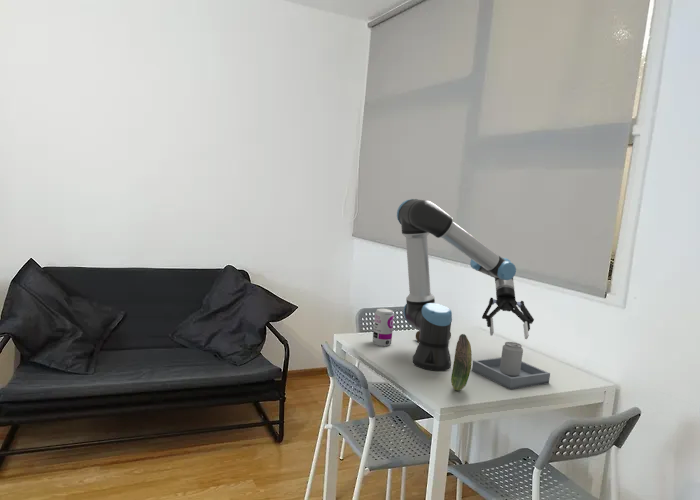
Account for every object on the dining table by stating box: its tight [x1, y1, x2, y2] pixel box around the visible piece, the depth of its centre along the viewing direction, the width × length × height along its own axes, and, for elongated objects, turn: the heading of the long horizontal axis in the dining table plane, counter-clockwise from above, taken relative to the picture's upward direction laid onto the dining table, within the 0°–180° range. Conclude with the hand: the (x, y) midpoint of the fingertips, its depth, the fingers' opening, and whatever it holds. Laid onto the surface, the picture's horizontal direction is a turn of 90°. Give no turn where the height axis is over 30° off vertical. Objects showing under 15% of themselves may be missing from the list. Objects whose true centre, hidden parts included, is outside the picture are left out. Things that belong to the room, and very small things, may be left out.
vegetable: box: [450, 333, 473, 392], centre depth 179 cm, size 6×6×20 cm
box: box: [471, 357, 551, 390], centre depth 198 cm, size 20×20×4 cm
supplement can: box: [372, 307, 395, 347], centre depth 227 cm, size 8×8×15 cm
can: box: [500, 341, 524, 377], centre depth 198 cm, size 8×8×12 cm
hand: (509, 335), depth 205 cm, fingers open, 13 cm apart
